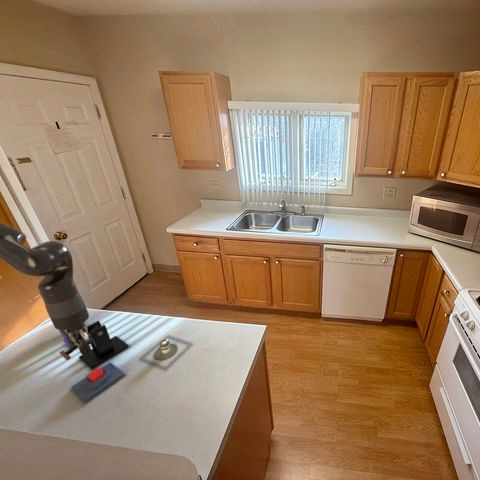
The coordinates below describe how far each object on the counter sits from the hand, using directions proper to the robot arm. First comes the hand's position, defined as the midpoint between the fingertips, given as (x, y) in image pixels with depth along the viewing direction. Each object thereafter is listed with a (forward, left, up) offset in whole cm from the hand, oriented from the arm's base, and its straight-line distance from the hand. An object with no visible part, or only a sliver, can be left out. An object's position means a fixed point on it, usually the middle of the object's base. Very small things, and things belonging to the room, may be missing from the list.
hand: (86, 353), depth 80 cm
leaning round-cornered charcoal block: (+6, +30, -14) cm, 34 cm away
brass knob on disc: (+19, -7, -14) cm, 24 cm away
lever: (+3, +12, -5) cm, 13 cm away
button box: (0, 0, -13) cm, 13 cm away
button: (0, 0, -11) cm, 11 cm away
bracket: (+7, +12, -13) cm, 19 cm away
